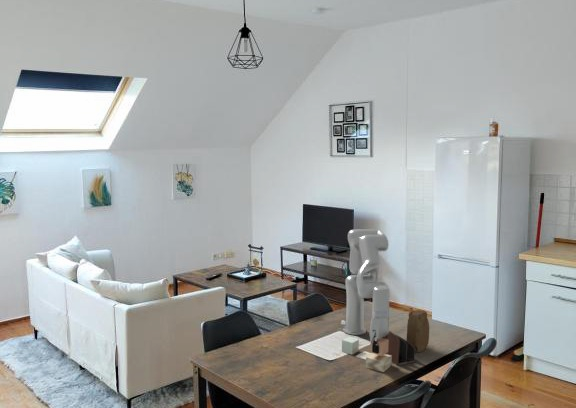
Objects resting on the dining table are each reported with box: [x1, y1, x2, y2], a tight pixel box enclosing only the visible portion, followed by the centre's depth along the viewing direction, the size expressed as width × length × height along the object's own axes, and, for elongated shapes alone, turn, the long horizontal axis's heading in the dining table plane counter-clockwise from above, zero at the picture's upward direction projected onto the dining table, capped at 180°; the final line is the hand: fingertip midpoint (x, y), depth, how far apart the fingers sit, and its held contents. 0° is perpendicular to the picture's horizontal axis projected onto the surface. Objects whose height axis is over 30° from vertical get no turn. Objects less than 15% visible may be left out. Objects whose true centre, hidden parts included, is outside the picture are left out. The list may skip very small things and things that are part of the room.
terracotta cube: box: [369, 337, 389, 356], centre depth 250 cm, size 6×6×6 cm
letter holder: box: [375, 330, 416, 367], centre depth 262 cm, size 10×20×14 cm, turn 24°
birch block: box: [365, 353, 393, 373], centre depth 251 cm, size 9×9×5 cm
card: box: [355, 350, 371, 361], centre depth 262 cm, size 8×8×1 cm
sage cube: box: [341, 336, 360, 355], centre depth 268 cm, size 6×6×6 cm
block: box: [406, 309, 430, 353], centre depth 271 cm, size 11×8×20 cm
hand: (379, 350), depth 250 cm, fingers closed on terracotta cube, 6 cm apart
